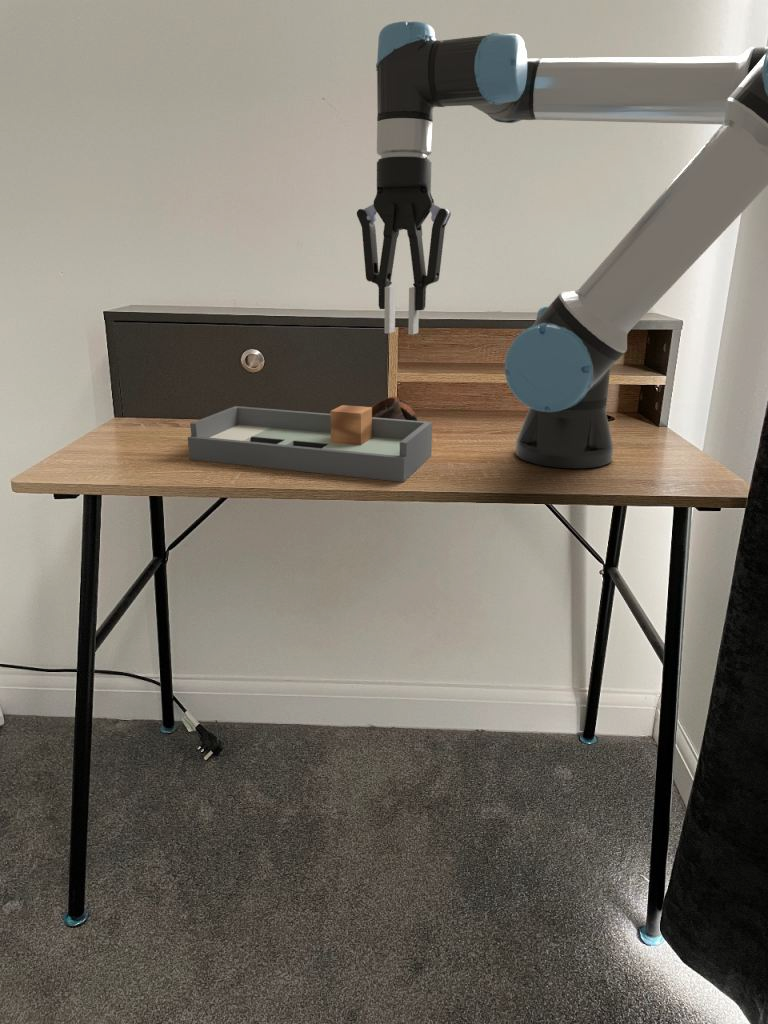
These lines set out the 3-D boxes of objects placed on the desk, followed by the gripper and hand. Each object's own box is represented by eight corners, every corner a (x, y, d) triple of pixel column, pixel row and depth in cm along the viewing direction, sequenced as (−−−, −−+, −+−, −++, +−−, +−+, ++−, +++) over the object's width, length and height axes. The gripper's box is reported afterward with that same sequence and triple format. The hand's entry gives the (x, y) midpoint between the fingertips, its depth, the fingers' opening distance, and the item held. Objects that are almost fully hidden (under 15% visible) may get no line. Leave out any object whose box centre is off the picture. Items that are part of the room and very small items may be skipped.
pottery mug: (422, 449, 124) (398, 409, 121) (374, 468, 128) (350, 429, 125) (431, 416, 134) (410, 378, 131) (387, 435, 138) (365, 398, 135)
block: (371, 438, 119) (371, 407, 117) (361, 445, 114) (360, 413, 113) (342, 435, 120) (342, 405, 119) (331, 442, 116) (330, 411, 114)
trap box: (431, 455, 118) (432, 422, 117) (403, 482, 105) (404, 444, 103) (237, 437, 129) (235, 406, 127) (189, 459, 115) (186, 424, 114)
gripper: (467, 159, 102) (460, 332, 110) (358, 162, 107) (359, 328, 115) (454, 152, 96) (448, 338, 104) (339, 156, 100) (341, 333, 108)
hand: (401, 332), depth 109 cm, fingers open, 3 cm apart
